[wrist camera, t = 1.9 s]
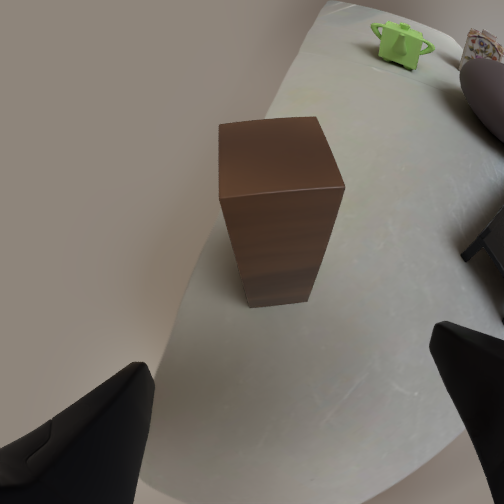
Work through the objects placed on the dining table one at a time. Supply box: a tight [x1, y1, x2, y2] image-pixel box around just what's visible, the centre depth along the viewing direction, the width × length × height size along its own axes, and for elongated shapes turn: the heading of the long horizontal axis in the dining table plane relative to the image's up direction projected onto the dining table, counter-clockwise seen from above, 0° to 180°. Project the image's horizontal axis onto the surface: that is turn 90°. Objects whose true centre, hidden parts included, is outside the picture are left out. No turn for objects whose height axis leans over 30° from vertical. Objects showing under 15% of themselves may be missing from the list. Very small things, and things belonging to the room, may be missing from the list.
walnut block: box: [219, 117, 345, 308], centre depth 16 cm, size 5×5×14 cm
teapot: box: [371, 21, 435, 70], centre depth 39 cm, size 15×13×11 cm
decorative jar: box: [458, 28, 504, 71], centre depth 38 cm, size 12×12×18 cm
